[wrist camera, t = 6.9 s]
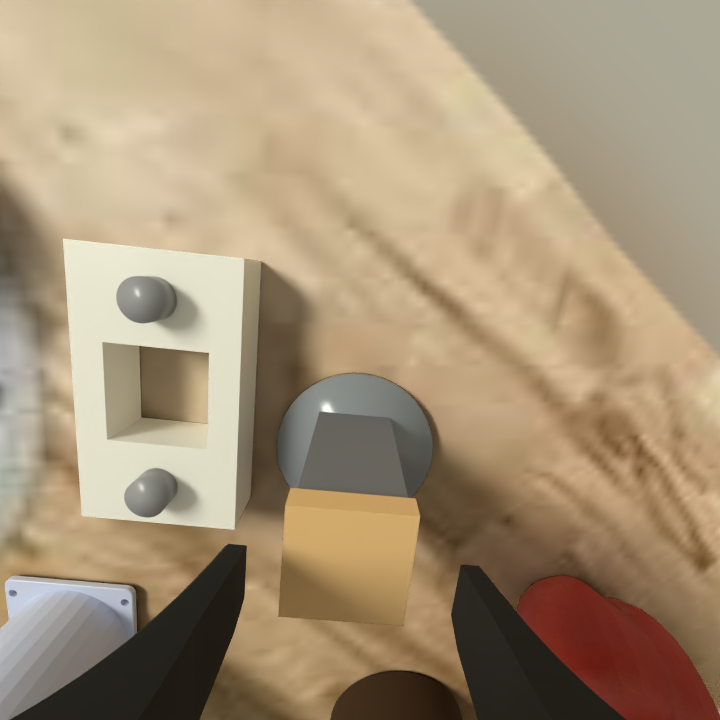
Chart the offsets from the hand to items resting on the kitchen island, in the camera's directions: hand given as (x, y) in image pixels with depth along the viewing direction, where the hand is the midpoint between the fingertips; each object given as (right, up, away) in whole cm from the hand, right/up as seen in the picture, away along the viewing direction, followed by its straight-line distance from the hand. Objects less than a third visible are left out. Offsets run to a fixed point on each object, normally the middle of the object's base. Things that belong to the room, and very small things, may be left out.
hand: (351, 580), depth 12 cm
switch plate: (-10, +6, +9) cm, 14 cm away
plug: (0, +2, +9) cm, 9 cm away
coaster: (0, +2, +10) cm, 10 cm away
